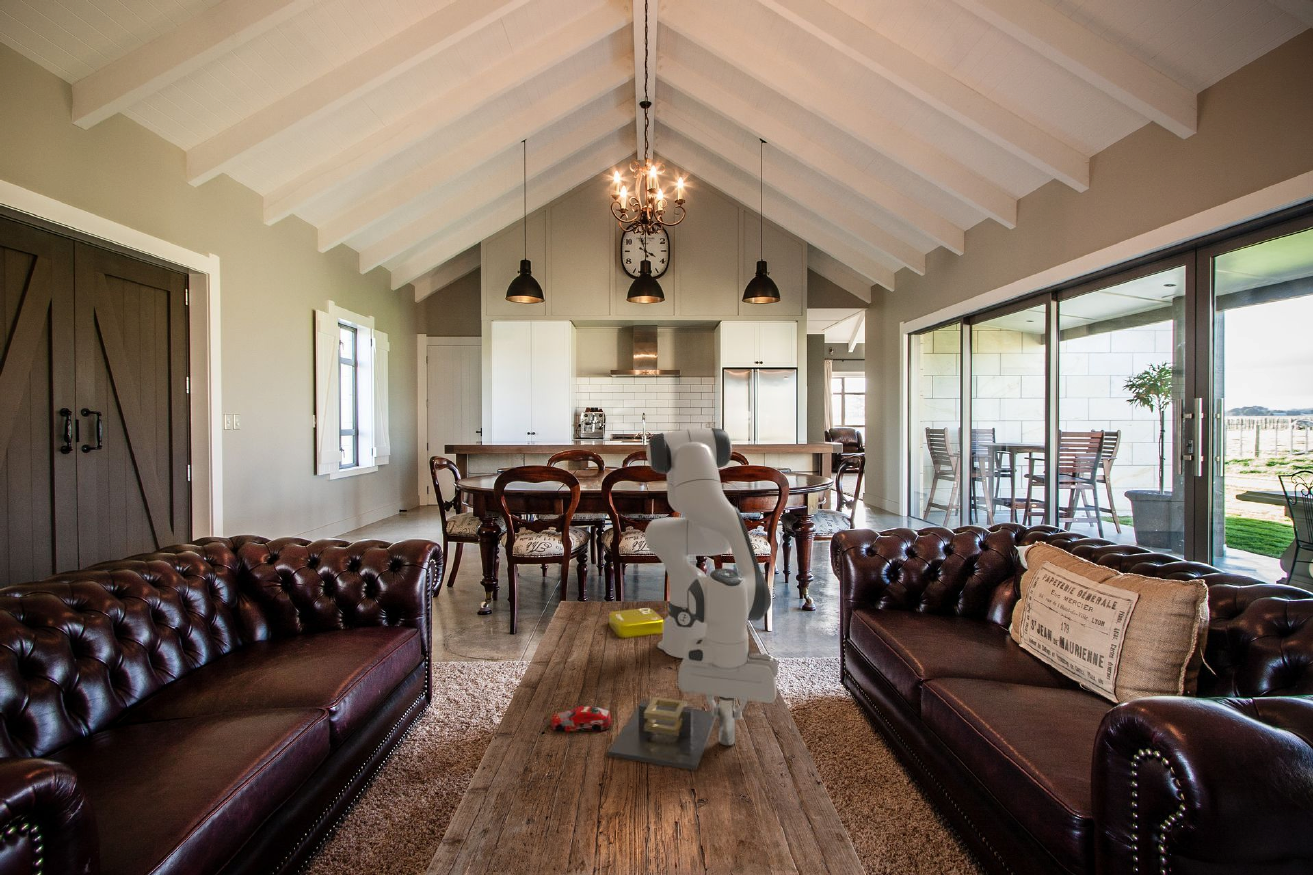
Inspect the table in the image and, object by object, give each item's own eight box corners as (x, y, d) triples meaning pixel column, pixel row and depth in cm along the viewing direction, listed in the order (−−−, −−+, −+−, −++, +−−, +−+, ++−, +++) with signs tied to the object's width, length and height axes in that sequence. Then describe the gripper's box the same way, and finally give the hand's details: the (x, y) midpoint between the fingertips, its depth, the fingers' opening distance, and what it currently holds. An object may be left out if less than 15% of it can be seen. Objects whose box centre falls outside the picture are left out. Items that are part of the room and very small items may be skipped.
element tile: (607, 624, 197) (607, 610, 197) (650, 619, 202) (650, 605, 202) (620, 639, 183) (620, 624, 183) (665, 633, 188) (665, 618, 188)
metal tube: (719, 735, 124) (720, 679, 124) (736, 737, 123) (736, 681, 123) (717, 743, 121) (717, 686, 121) (733, 746, 120) (733, 688, 120)
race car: (548, 733, 127) (548, 715, 127) (553, 721, 132) (553, 703, 132) (609, 733, 127) (609, 715, 126) (611, 721, 132) (611, 703, 132)
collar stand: (641, 705, 138) (641, 680, 138) (716, 716, 133) (716, 689, 133) (607, 756, 117) (607, 725, 117) (696, 770, 112) (696, 738, 112)
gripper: (779, 649, 122) (779, 715, 122) (682, 639, 127) (682, 703, 128) (776, 661, 116) (776, 731, 116) (675, 650, 121) (675, 717, 122)
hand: (726, 716), depth 122 cm, fingers closed on metal tube, 3 cm apart
